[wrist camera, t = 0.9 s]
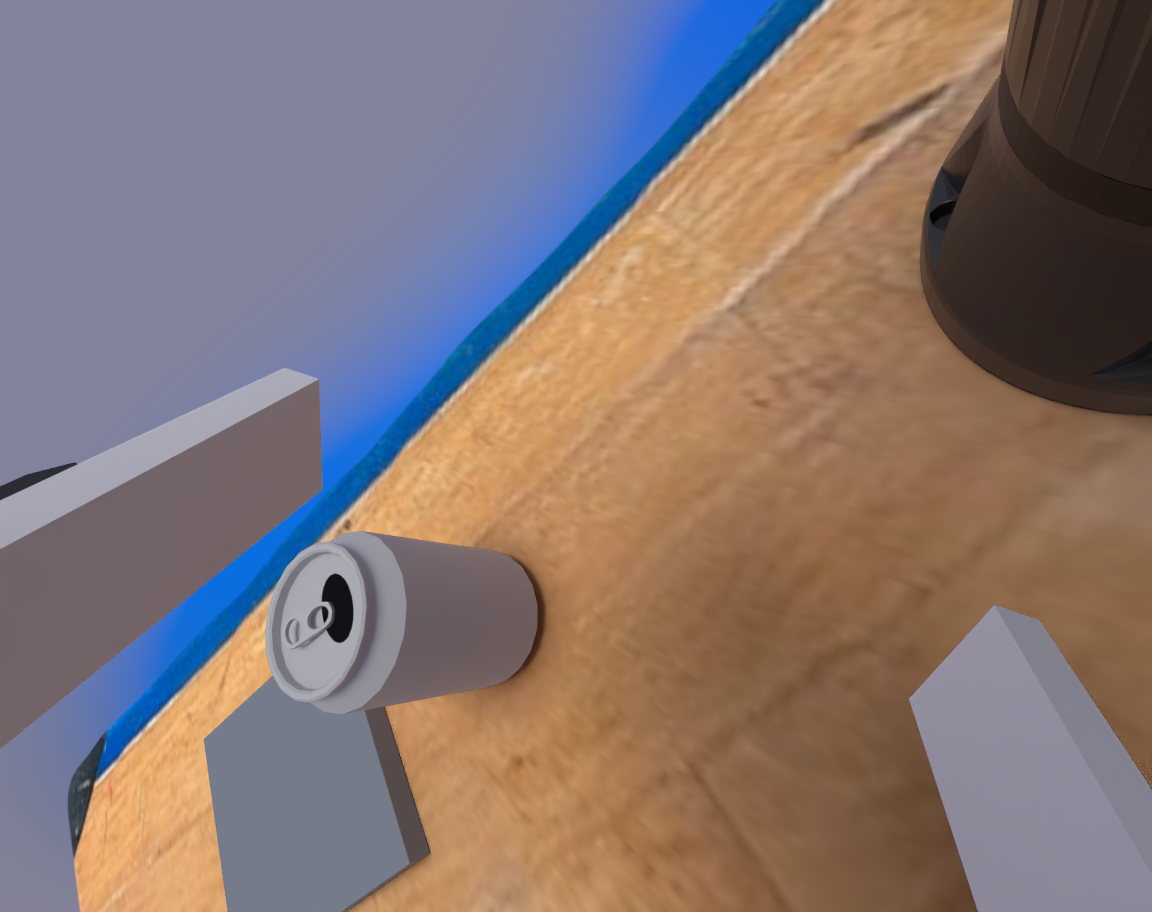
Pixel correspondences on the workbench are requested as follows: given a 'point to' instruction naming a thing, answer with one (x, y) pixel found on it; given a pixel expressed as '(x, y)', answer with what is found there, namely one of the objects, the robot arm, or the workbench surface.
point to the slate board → (308, 805)
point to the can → (396, 621)
